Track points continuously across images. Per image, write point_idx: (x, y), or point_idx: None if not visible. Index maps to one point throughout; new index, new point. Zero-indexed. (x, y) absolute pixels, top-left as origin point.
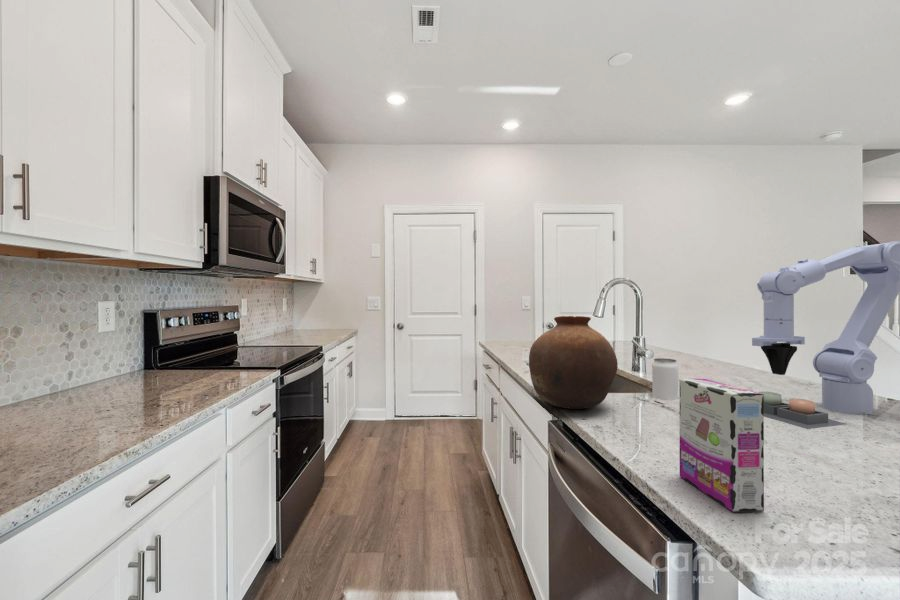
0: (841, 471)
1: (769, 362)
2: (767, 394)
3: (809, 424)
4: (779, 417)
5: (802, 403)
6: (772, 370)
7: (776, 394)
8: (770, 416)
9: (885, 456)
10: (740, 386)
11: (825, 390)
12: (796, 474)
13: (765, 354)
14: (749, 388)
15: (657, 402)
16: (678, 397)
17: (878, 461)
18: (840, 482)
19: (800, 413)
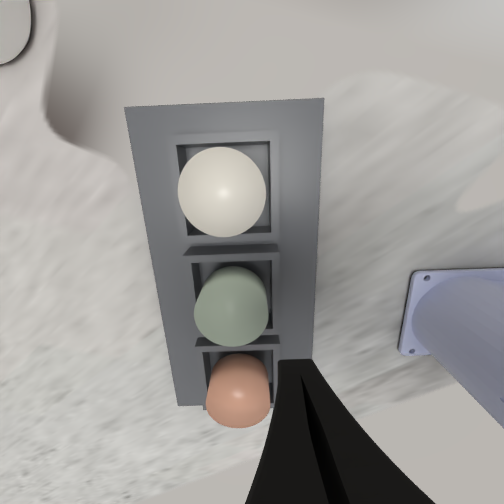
0: (81, 485)
1: (272, 421)
2: (211, 321)
3: None
4: (196, 337)
5: (214, 418)
6: (279, 376)
7: (246, 329)
8: (180, 326)
9: (211, 468)
10: (234, 174)
11: (478, 348)
12: (5, 481)
13: (247, 501)
14: (238, 222)
15: None
16: (4, 36)
17: (176, 476)
18: (47, 501)
19: (205, 395)
